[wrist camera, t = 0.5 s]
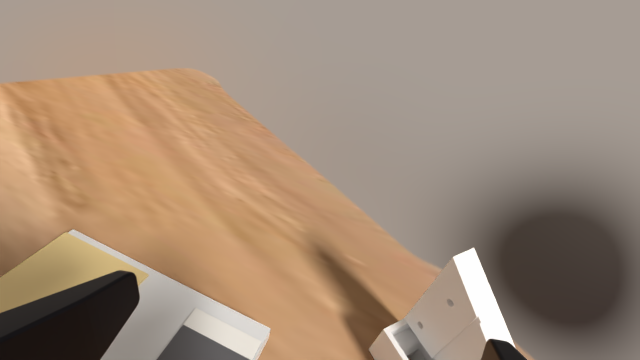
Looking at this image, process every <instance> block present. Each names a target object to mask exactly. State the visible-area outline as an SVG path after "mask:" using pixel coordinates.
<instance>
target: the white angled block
mask: <svg viewBox="0 0 640 360" xmlns="http://www.w3.org/2000/svg"><path fill="white" fill-rule="evenodd" d="M488 339H497V340H503V341H507V342H509V343H510V344H512V345H513V346H514V343H513V341H512V338H511V336H510V334H509V331H508V329H507V326H506V324H505V321H504V319H503V317H502V314H501V312H500V310H499V307H498V305H497V302H496V300H495V297H494V295H493V292H492V290H491V288H490V285H489V283H488V281H487V278H486V276H485V273H484V271H483V268H482V266H481V263H480V261H479V259H478V256H477V254H476V251H475V249H474V248H472V249H470V250H468V251H466V252H463V253H461V254H459V255H456V256H454V257H453V258H452V259H451V260H450V261H449V263H448V264H447V265H446V266H445V268H444V269H443V270H442V271H441V273H440V274H439V275H438V276H437V278H436V279H435V280H434V281H433V283H432V284H431V285H430V286H429V288H428V289H427V290H426V291H425V293H424V294H423V295H422V296H421V298H420V299H419V300H418V301H417V303H416V304H415V305H414V306H413V308H412V309H411V310H410V311H409V313H408V314H407V315H406V316H405V318H404V319H402V320H400V321H398V322H396V323H394V324H392V325H390V326H388V327H387V328H385V329H383V330H382V332H381V333H380V334H379V336H378V337H377V338H376V340H375V341H374V342H373V344H372V345H371V346H370V348H369V349H368V350H369V351H370V353H371V355H372V356H373V358H374V360H409V359H408V358H410V359H411V360H481V358H482V354H483V351H484V348H485V345H486V342H487V340H488ZM514 347H515V346H514Z"/></svg>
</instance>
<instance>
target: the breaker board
mask: <svg viewBox="0 0 640 360" xmlns="http://www.w3.org/2000/svg"><path fill="white" fill-rule="evenodd" d="M118 270H124V271H129V272H133V273H134V274H135V275H136V277H137V283H138V288H139V294H140V300H139V303H138V305H137V307H136V309H135V310H134V312H133V313H132V314H131V316H130V317H129V319H128V320H127V322H126V323H125V325H124V326H123V328H122V329H121V331H120V332H119V333H118V335H117V336H116V338H115V339H114V341H113V342H112V344H111V345H110V347H109V348H108V350H107V351H106V352H105V354H104V355H103V357H102V358H101V359H100V360H258V358H259V356H260V354H261V352H262V350H263V348H264V346H265V344H266V342H267V340H268V338H269V334H270V330H271V329H270V328H268V327H266V326H264V325H262V324H260V323H258V322H256V321H254V320H252V319H250V318H248V317H246V316H244V315H243V314H241V313H239V312H237V311H235V310H233V309H231V308H229V307H227V306H225V305H223V304H221V303H219V302H217V301H215V300H213V299H211V298H209V297H207V296H205V295H203V294H201V293H199V292H197V291H195V290H193V289H191V288H189V287H187V286H185V285H183V284H181V283H179V282H177V281H175V280H173V279H171V278H169V277H167V276H165V275H163V274H161V273H159V272H157V271H155V270H153V269H151V268H149V267H147V266H145V265H143V264H141V263H139V262H137V261H135V260H133V259H131V258H129V257H127V256H125V255H123V254H121V253H119V252H117V251H115V250H113V249H111V248H109V247H108V246H106V245H104V244H102V243H100V242H98V241H96V240H94V239H92V238H90V237H88V236H86V235H84V234H82V233H80V232H78V231H76V230H74V229H73V230H71V231H70V232H68V233H67V232H65V233H63V234H62V235H61V236H59V237H58V238H56V239H55V240H53V241H52V242H50V243H49V244H48V245H46V246H45V247H43V248H42V249H40V250H39V251H38V252H36V253H35V254H33V255H32V256H30V257H29V258H27V259H26V260H25V261H23V262H22V263H20V264H19V265H17V266H16V267H15V268H13V269H12V270H10V271H9V272H7V273H6V274H4V275H3V276H2V277H0V313H2V312H4V311H7V310H10V309H13V308H15V307H18V306H21V305H24V304H26V303H29V302H32V301H35V300H38V299H40V298H43V297H46V296H49V295H51V294H54V293H57V292H60V291H62V290H65V289H68V288H71V287H73V286H76V285H79V284H82V283H84V282H87V281H90V280H93V279H96V278H98V277H101V276H104V275H107V274H109V273H112V272H115V271H118Z"/></svg>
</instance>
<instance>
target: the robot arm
mask: <svg viewBox="0 0 640 360" xmlns="http://www.w3.org/2000/svg"><path fill="white" fill-rule="evenodd" d="M139 300H140V294H139V288H138V283H137V277H136V275H135V274H134V273H133V272H129V271H124V270H118V271H115V272H112V273H109V274H107V275H104V276H101V277H98V278H96V279H93V280H90V281H87V282H84V283H82V284H79V285H76V286H73V287H71V288H68V289H65V290H62V291H60V292H57V293H54V294H51V295H49V296H46V297H43V298H40V299H38V300H35V301H32V302H29V303H26V304H24V305H21V306H18V307H15V308H13V309H10V310H7V311H4V312H2V313H0V360H100V359H101V358H102V357H103V355H104V354H105V352H106V351H107V350H108V348H109V347H110V345H111V344H112V342H113V341H114V339H115V338H116V336H117V335H118V333H119V332H120V331H121V329H122V328H123V326H124V325H125V323H126V322H127V320H128V319H129V317H130V316H131V314H132V313H133V312H134V310H135V309H136V307H137V305H138V303H139ZM481 360H527V359H526V358H525V357H524V356H523V355H522V354H521V353H520V352H519V351H518V350H517V349H516V348H515V347H514V346H513V345H512V344H510V343H509V342H507V341H503V340H497V339H488V340H487V342H486V345H485V348H484V351H483V354H482V358H481Z"/></svg>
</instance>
